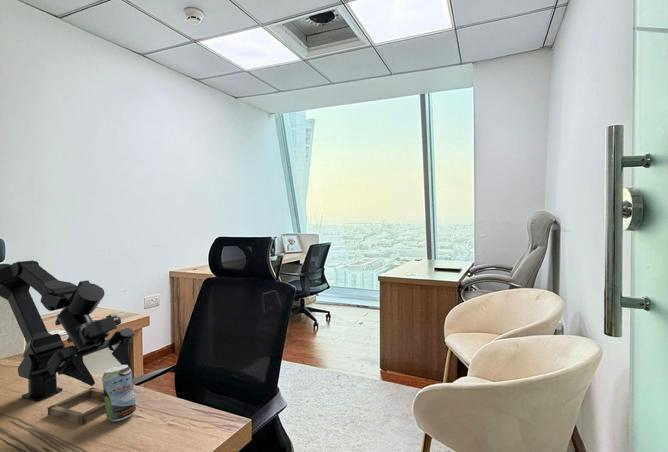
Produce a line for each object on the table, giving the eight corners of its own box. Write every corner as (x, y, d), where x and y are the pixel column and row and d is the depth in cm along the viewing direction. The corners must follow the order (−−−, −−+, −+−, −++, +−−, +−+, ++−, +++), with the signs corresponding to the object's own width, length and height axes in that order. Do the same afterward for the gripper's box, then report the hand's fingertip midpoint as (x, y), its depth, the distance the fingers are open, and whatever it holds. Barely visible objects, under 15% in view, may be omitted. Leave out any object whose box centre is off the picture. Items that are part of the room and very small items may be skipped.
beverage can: (122, 426, 80) (121, 374, 80) (95, 422, 81) (94, 371, 81) (142, 411, 86) (142, 363, 86) (117, 408, 87) (116, 361, 87)
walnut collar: (47, 415, 84) (47, 407, 84) (92, 394, 95) (92, 387, 95) (81, 425, 80) (81, 416, 80) (124, 402, 90) (124, 394, 90)
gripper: (54, 315, 77) (89, 371, 73) (129, 297, 95) (161, 342, 91) (31, 346, 80) (65, 402, 76) (109, 324, 97) (139, 368, 94)
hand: (112, 376), depth 84 cm, fingers open, 9 cm apart
